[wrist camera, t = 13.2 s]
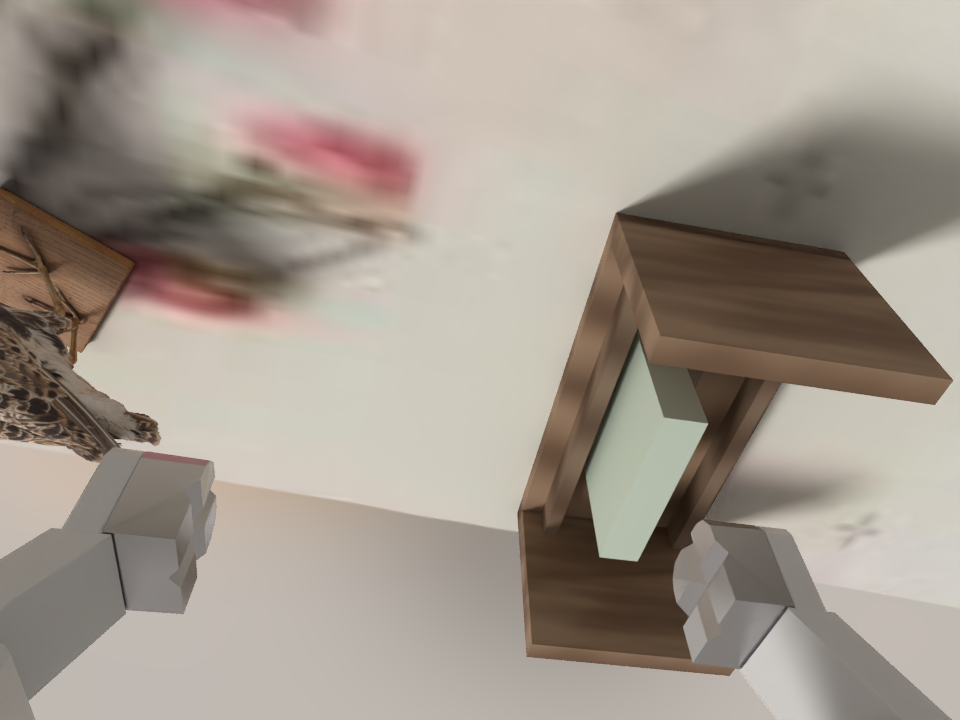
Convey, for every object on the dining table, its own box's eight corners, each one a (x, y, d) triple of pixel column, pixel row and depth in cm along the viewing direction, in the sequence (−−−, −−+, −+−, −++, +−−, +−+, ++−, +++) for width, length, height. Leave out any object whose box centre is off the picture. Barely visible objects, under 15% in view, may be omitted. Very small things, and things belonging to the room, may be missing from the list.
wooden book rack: (616, 213, 40) (660, 335, 31) (844, 252, 42) (953, 380, 32) (517, 513, 56) (526, 656, 46) (686, 533, 57) (729, 675, 48)
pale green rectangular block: (636, 330, 44) (663, 417, 38) (674, 336, 44) (708, 423, 38) (583, 465, 51) (599, 557, 45) (617, 469, 52) (637, 561, 45)
